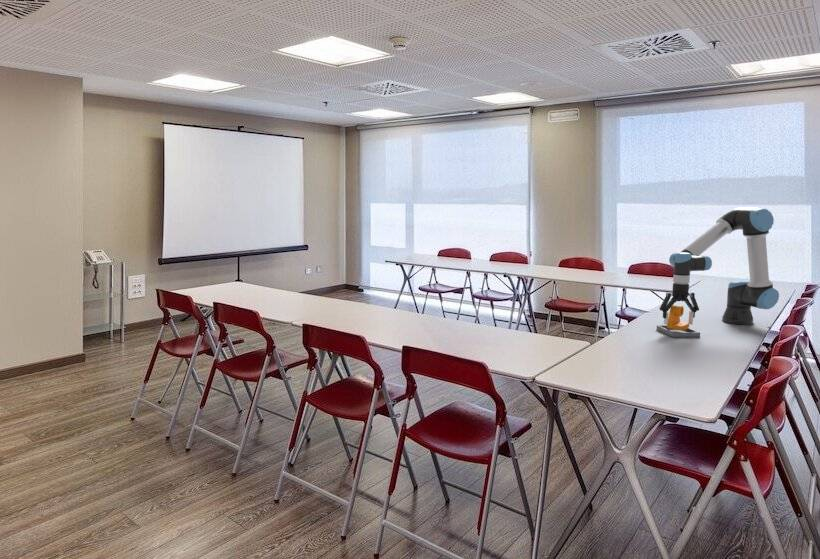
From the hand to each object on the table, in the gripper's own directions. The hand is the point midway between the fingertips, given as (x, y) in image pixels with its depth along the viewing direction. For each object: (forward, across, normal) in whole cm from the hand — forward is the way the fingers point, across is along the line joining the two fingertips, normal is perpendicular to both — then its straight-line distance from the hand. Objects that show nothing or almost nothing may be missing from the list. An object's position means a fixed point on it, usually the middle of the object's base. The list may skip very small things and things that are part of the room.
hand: (678, 324), depth 292 cm
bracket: (+3, 0, 0) cm, 3 cm away
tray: (+5, 0, 0) cm, 5 cm away
